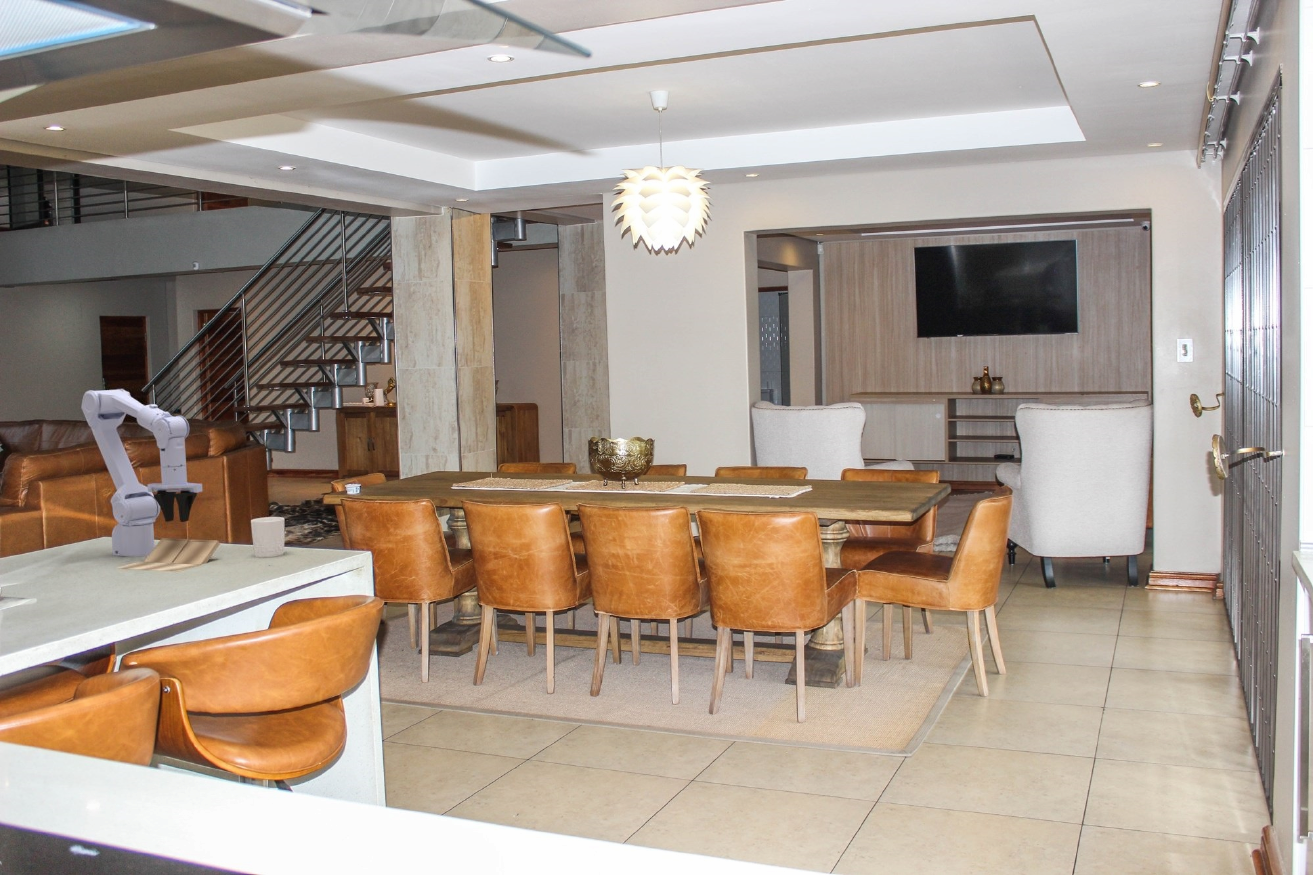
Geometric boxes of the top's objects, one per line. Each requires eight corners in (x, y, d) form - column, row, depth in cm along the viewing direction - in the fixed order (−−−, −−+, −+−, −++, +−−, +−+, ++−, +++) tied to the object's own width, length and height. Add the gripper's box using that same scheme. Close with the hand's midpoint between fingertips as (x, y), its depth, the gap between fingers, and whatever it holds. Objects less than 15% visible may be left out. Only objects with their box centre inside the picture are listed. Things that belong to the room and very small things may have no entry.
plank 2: (175, 566, 274) (172, 562, 273) (192, 542, 280) (190, 539, 279) (202, 567, 271) (200, 564, 271) (219, 544, 277) (217, 540, 277)
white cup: (291, 556, 286) (289, 516, 285) (278, 562, 278) (276, 521, 277) (261, 556, 287) (259, 516, 286) (247, 562, 279) (245, 522, 278)
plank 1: (146, 565, 276) (143, 561, 276) (163, 541, 282) (161, 538, 281) (173, 566, 274) (170, 562, 273) (190, 542, 280) (188, 539, 279)
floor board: (115, 573, 268) (114, 568, 268) (139, 566, 276) (139, 561, 276) (178, 576, 263) (178, 571, 263) (201, 569, 270) (201, 564, 270)
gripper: (137, 467, 276) (140, 523, 277) (187, 467, 271) (190, 524, 272) (157, 464, 282) (161, 518, 283) (206, 464, 278) (210, 519, 279)
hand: (177, 521), depth 278 cm, fingers open, 4 cm apart
